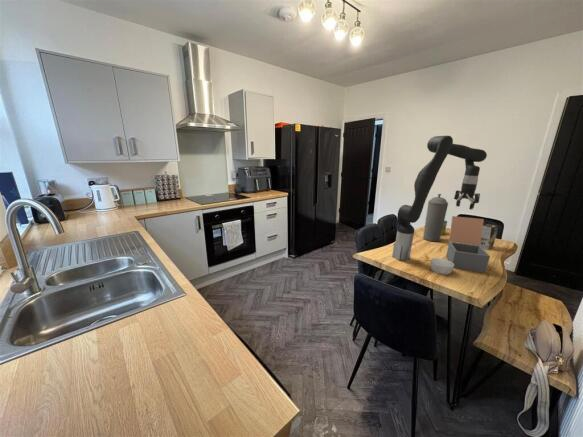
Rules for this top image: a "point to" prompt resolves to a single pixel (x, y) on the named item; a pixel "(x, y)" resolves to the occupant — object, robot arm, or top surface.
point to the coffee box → (488, 236)
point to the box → (468, 257)
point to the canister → (435, 218)
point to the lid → (466, 230)
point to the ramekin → (441, 266)
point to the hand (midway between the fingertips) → (464, 207)
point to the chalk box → (444, 228)
